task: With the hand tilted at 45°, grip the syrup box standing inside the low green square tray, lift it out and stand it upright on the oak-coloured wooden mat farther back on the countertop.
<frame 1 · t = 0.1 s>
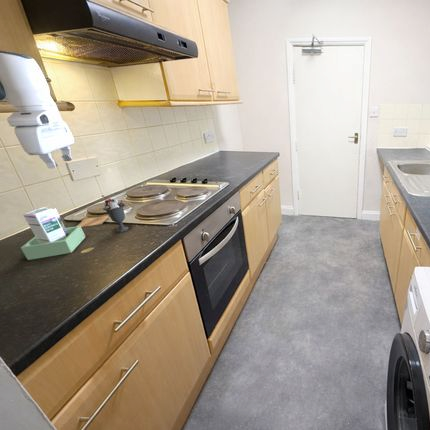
hand: (61, 164, 82), 29 cm above the worktop, tool pointing down, fingers open, 8 cm apart
sundae: (123, 230, 103), on the worktop
green square tray: (59, 248, 91), on the worktop
syrup box: (59, 249, 91), resting in green square tray
wooden mat: (93, 222, 110), on the worktop
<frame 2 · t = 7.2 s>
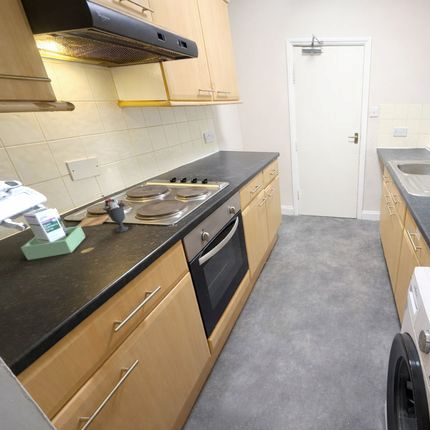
hand: (37, 222, 86), 11 cm above the worktop, tool tilted 45°, fingers open, 8 cm apart
syrup box: (59, 249, 91), resting in green square tray, touching gripper
everything else where it was.
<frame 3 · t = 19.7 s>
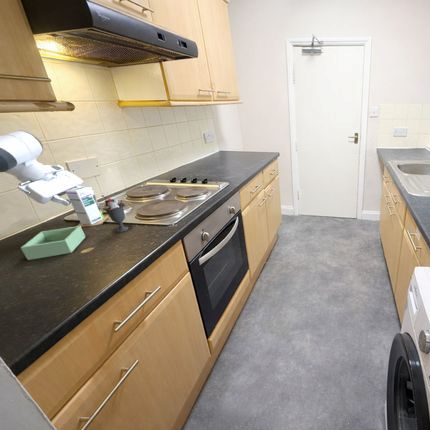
hand: (77, 199, 105), 10 cm above the worktop, tool tilted 45°, fingers open, 8 cm apart
syrup box: (93, 221, 110), resting on wooden mat
everything else where it was.
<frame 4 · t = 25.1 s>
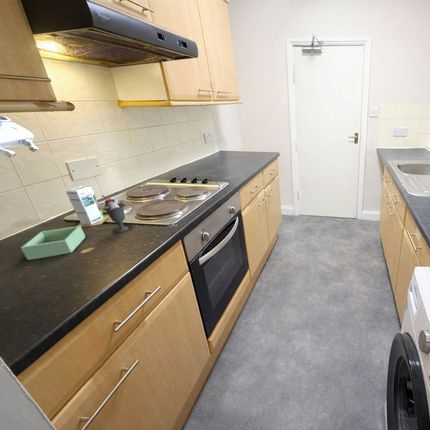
hand: (25, 152, 96), 29 cm above the worktop, tool tilted 45°, fingers open, 8 cm apart
nothing on the worktop moved.
at the end: syrup box 0.1 cm off-centre on the wooden mat, point 0.2 cm above the wooden mat's base; syrup box tilted 0°; the gripper is holding nothing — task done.
